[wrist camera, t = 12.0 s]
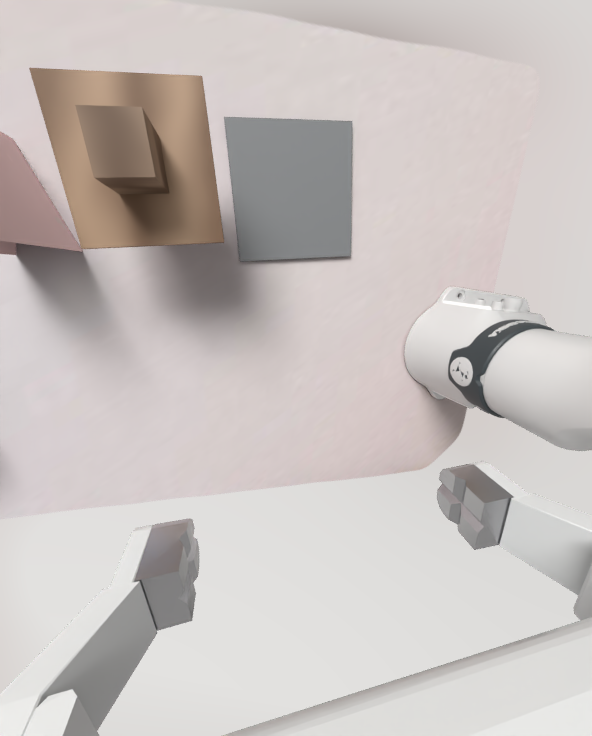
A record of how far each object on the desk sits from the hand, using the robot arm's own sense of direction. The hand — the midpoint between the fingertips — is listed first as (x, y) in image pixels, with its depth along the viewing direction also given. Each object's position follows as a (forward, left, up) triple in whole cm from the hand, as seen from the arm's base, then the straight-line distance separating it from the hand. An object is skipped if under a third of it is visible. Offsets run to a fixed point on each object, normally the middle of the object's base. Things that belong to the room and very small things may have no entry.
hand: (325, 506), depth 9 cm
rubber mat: (-6, -16, -33) cm, 37 cm away
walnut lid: (+9, -16, -23) cm, 29 cm away
